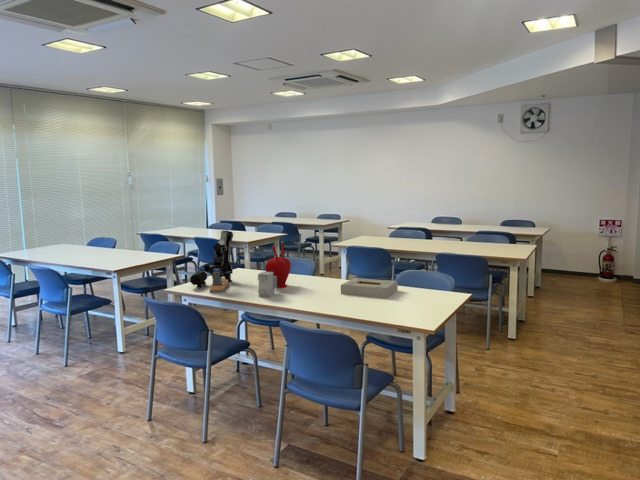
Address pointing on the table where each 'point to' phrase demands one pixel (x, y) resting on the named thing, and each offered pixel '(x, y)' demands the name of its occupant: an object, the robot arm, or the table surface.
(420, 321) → the table surface
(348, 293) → the box
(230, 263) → the robot arm
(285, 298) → the table surface
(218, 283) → the dark grey block
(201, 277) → the security camera
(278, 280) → the red antenna pod
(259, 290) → the circuit breaker
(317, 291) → the table surface
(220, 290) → the orange and grey housing
